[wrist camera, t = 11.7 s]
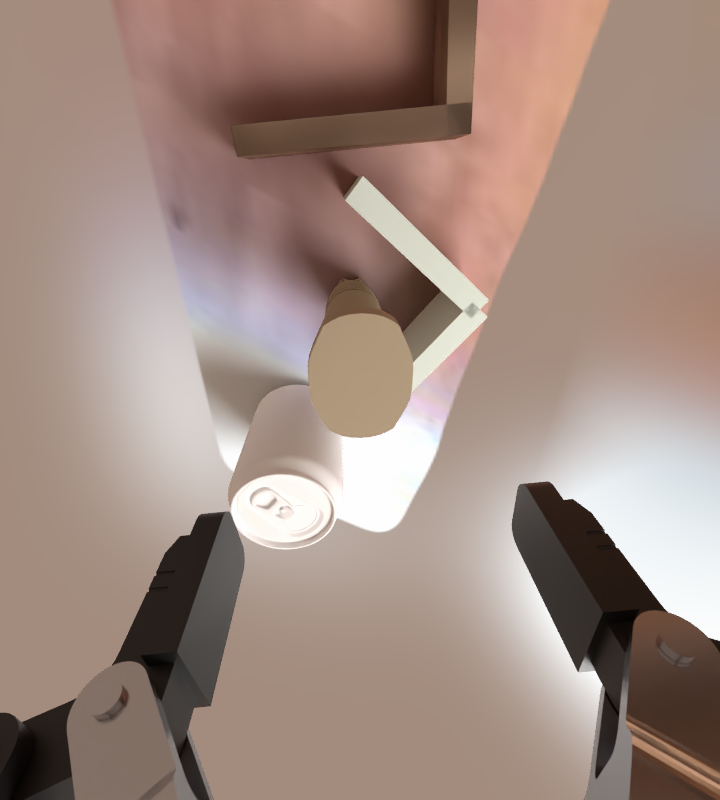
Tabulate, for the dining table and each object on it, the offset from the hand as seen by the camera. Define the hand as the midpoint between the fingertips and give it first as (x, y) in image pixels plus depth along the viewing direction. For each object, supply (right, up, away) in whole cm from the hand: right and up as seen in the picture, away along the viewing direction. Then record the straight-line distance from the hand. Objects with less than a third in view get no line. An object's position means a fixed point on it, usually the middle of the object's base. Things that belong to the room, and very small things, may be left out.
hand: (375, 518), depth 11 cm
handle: (-1, +12, +20) cm, 23 cm away
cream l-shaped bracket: (+3, +12, +20) cm, 24 cm away
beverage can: (-6, +2, +26) cm, 26 cm away
